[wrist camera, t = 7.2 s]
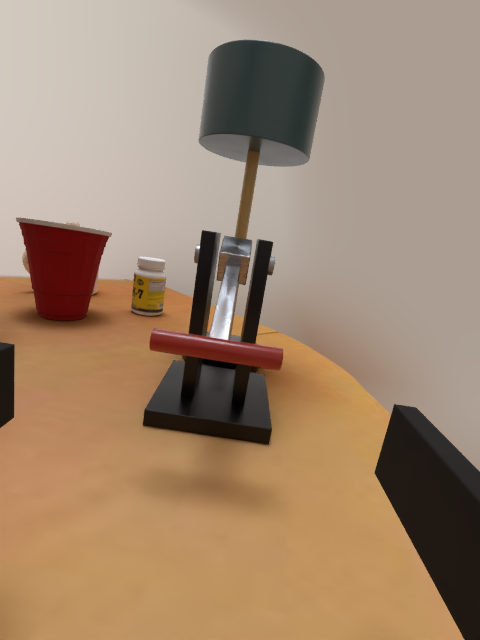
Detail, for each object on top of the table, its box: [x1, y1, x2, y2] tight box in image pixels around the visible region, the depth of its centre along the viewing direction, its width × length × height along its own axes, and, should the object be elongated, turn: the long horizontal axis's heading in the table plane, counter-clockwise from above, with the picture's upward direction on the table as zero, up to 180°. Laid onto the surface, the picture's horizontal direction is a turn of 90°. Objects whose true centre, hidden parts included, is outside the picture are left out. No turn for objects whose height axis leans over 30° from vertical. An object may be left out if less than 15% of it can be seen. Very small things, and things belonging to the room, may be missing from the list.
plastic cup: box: [16, 218, 112, 320], centre depth 45 cm, size 11×11×12 cm
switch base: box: [143, 230, 275, 444], centre depth 28 cm, size 10×9×14 cm
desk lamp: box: [182, 40, 324, 373], centre depth 36 cm, size 11×11×29 cm
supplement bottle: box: [131, 257, 166, 316], centre depth 53 cm, size 5×5×8 cm
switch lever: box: [150, 236, 283, 370], centre depth 23 cm, size 12×7×2 cm, turn 179°
